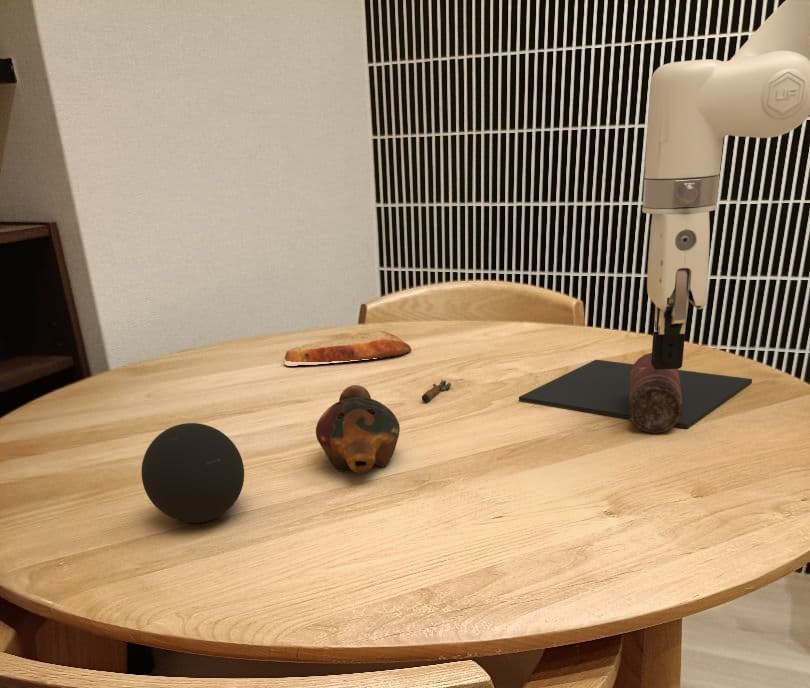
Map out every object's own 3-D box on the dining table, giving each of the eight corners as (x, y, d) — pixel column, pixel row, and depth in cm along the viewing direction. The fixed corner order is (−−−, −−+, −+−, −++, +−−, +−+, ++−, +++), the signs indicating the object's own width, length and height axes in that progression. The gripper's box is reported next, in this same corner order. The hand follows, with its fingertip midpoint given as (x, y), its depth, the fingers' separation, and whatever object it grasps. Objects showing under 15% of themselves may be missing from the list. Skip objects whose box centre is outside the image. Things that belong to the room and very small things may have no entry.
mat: (751, 383, 114) (752, 378, 113) (687, 429, 99) (687, 424, 99) (595, 363, 128) (595, 359, 128) (518, 400, 113) (518, 396, 113)
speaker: (230, 541, 79) (213, 443, 75) (135, 538, 81) (112, 443, 77) (263, 499, 88) (250, 409, 84) (177, 497, 90) (159, 410, 85)
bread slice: (274, 365, 139) (271, 343, 138) (340, 341, 152) (338, 321, 150) (357, 376, 130) (355, 353, 128) (420, 349, 143) (419, 328, 141)
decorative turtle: (389, 437, 103) (389, 375, 99) (411, 490, 90) (411, 422, 86) (312, 442, 102) (308, 380, 98) (323, 497, 89) (319, 428, 85)
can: (665, 374, 94) (663, 339, 106) (618, 405, 97) (621, 368, 109) (695, 415, 95) (689, 376, 107) (647, 444, 99) (647, 403, 110)
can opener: (428, 402, 114) (427, 394, 114) (413, 401, 115) (412, 393, 115) (455, 385, 121) (454, 377, 121) (440, 384, 122) (440, 376, 122)
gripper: (735, 199, 79) (715, 384, 87) (701, 188, 93) (686, 350, 101) (655, 204, 80) (643, 387, 88) (633, 192, 93) (624, 352, 102)
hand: (666, 366), depth 95 cm, fingers closed
